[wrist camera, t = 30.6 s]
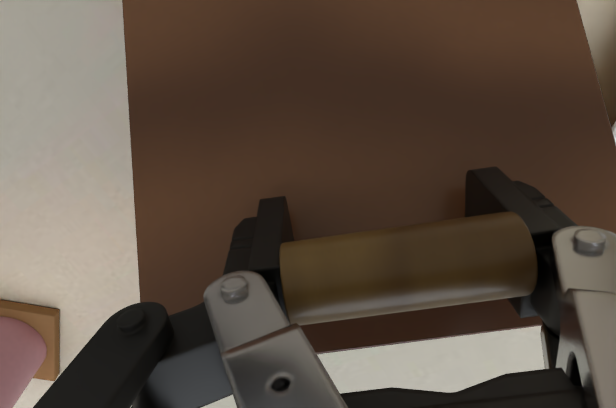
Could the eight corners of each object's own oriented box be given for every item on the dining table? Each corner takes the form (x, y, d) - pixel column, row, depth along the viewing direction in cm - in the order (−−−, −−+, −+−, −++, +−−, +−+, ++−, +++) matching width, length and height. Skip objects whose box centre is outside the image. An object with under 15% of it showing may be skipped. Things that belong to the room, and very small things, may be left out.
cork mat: (-29, 360, 34) (-36, 368, 33) (-37, 292, 31) (-44, 300, 30) (59, 373, 34) (54, 381, 34) (59, 309, 32) (54, 316, 31)
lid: (642, 308, 13) (831, 323, 8) (155, 371, 14) (49, 420, 9) (531, -108, 16) (622, -291, 11) (128, -40, 16) (36, -182, 11)
